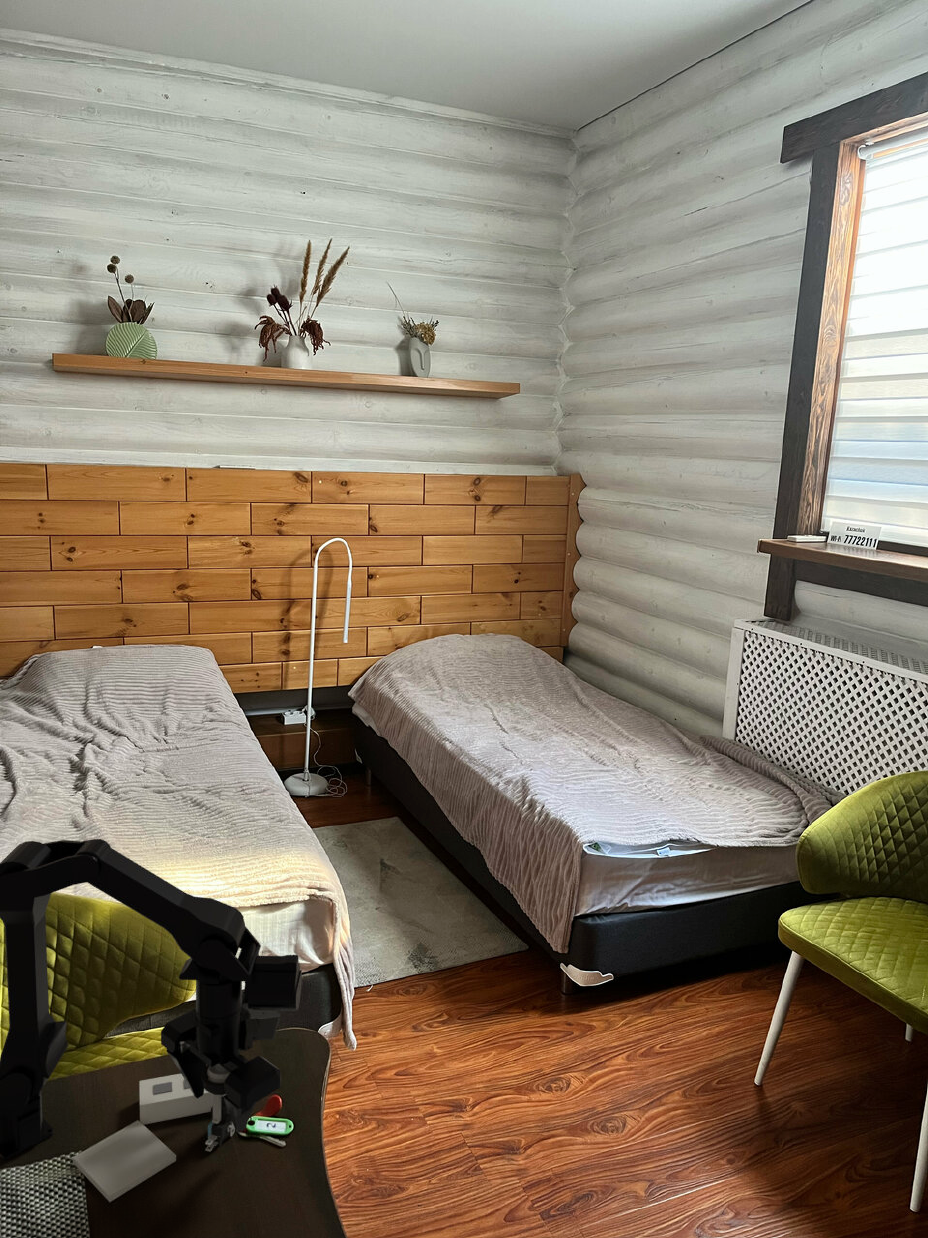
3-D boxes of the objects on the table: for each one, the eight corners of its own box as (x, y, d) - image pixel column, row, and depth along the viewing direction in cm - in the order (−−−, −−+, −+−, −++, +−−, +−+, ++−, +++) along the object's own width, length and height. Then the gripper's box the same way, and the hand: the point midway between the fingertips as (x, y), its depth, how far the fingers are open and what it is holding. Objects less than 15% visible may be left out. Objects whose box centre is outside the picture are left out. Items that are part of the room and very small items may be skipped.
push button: (225, 1159, 117) (225, 1090, 116) (188, 1149, 119) (187, 1081, 117) (250, 1123, 124) (250, 1057, 122) (215, 1115, 125) (214, 1049, 123)
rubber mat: (73, 1163, 116) (72, 1157, 116) (138, 1125, 123) (138, 1120, 122) (109, 1202, 110) (109, 1196, 110) (176, 1160, 117) (176, 1155, 117)
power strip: (140, 1125, 123) (139, 1102, 122) (139, 1100, 127) (139, 1078, 127) (247, 1104, 127) (247, 1082, 127) (243, 1081, 132) (243, 1059, 131)
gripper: (315, 1009, 118) (313, 1116, 121) (228, 954, 130) (228, 1053, 133) (243, 1049, 110) (243, 1163, 112) (157, 986, 121) (159, 1091, 124)
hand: (219, 1113), depth 121 cm, fingers open, 9 cm apart
